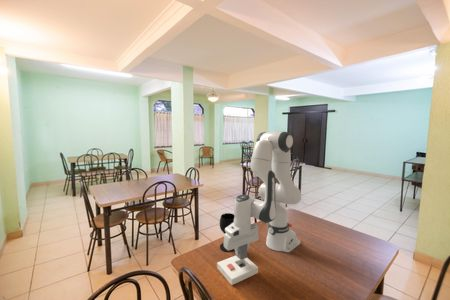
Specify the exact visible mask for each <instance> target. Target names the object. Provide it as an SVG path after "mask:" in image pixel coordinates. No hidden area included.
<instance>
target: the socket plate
mask: <svg viewBox="0 0 450 300" xmlns="http://www.w3.org/2000/svg"><path fill="white" fill-rule="evenodd" d="M216 268H217V270H218V271H219V272H220V273H221V274H222V276H224V278H225V279H226V280H227V282H228V283H229V284H230V285H231V286H233V285H235V284H238V283H240V282H241V281H244V280H246V279H248V278H250V277H253V276H254V275H257V274H258V273H259V267H258V266H257V265H256V264H255V263H254V262H253V261H251V260H250V259H249V258H248V257H247V258H245V259H242V260H240V259H239V258H238V257H237V256H236V254H235V255H234V256H231V257H229V258H225V259H223V260H220V261H217V262H216Z"/></svg>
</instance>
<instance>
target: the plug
mask: <svg viewBox="0 0 450 300" xmlns="http://www.w3.org/2000/svg"><path fill="white" fill-rule="evenodd" d="M237 250H239V251H240V254H238V255H236V254H235V255H236V256H237V257H238V258H239V259H240V260H242V259H245V258H248V251H247V244H246V245H243V246H240V247H238V249H237Z"/></svg>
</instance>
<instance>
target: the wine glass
mask: <svg viewBox="0 0 450 300" xmlns="http://www.w3.org/2000/svg"><path fill="white" fill-rule="evenodd" d="M233 222H234V213H229V212H228V213H227V212H226V213H222V214H221V215H220V219H219V228H220V230H221V232H222V233H223V234H224V235H225V233H226V232H225V228H226V227H228V226H229V225H231V224H232V223H233ZM219 249H220V250H221V251H222V252H224V253H231V252H235V249H232V250H229V251H228V250H227V249H225V247H224V242H222V243H221V244H220V245H219Z"/></svg>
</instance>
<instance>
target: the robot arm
mask: <svg viewBox="0 0 450 300" xmlns="http://www.w3.org/2000/svg"><path fill="white" fill-rule="evenodd" d="M255 140H256V142H255V145H254V147H253V151H252V154H251V158H250V159H251V160H250V170H251V172H252V173H253V174H254V175H255V176H256V177H258V178H259V179H260V180H261V181H262V182H263V183H262V184H261V185H260V186H259V187H258V194H259V196H260V198H261V199H262V200H261V199H258V198H255V197H251V196H250V195H248V194H239V195H237V196H236V197H235V199H234V204H233V214H234V222H233V223H232V224H231V225H229V226H228V227H226V228H225V232H226V233H225V234H224V236H223V243H224V247H225V249H227V250H228V251H229V250H232V249H235V250H234V253H235V255H238V254H240V251H239V250H237V249H238V247H240V246H243V245H246V244H247V252H248V251H249V247H250V245H251V243H255V242H257V241H258V240H259V234H260V233H259V225H258V224H257V223H256V222H255V223H252V221H251V218H254V219H257V220H259V221H261V222H263V223H264V224H268V225H267V228H268V230H267V236H266V241H265V244H266V246H267V247H268V249H270V250H273V251H276V252H284V253H290V252H292V251H293V250H294V249H295V248H297V247H298V246H299V245H301V240H300V239H298V237H297V234H296V232H295V231H293V230H292V229H291V228H292V227H293V224H292V223H290V222H288V221H289V219H288V218H289V217H288V216H289V213H288V210H287V209H286V208H285V207H284V206H282V205H281V204H285V205H291V206H292V205H298V204H299V203H300V202H301V200H302V192H301V190H300V188H298V187H297V185H295V183H294V182H293V179H292V176H291V164H292V163H291V160H292V159H291V149H292V147H293V145H294V137H293V135H292V133H290V132H287V131H279V130H278V131H277V130H275V131H263V132H260V133H259V134H257V136H256V139H255ZM276 179H277V181H278V182H279V183H277V182H276Z"/></svg>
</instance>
